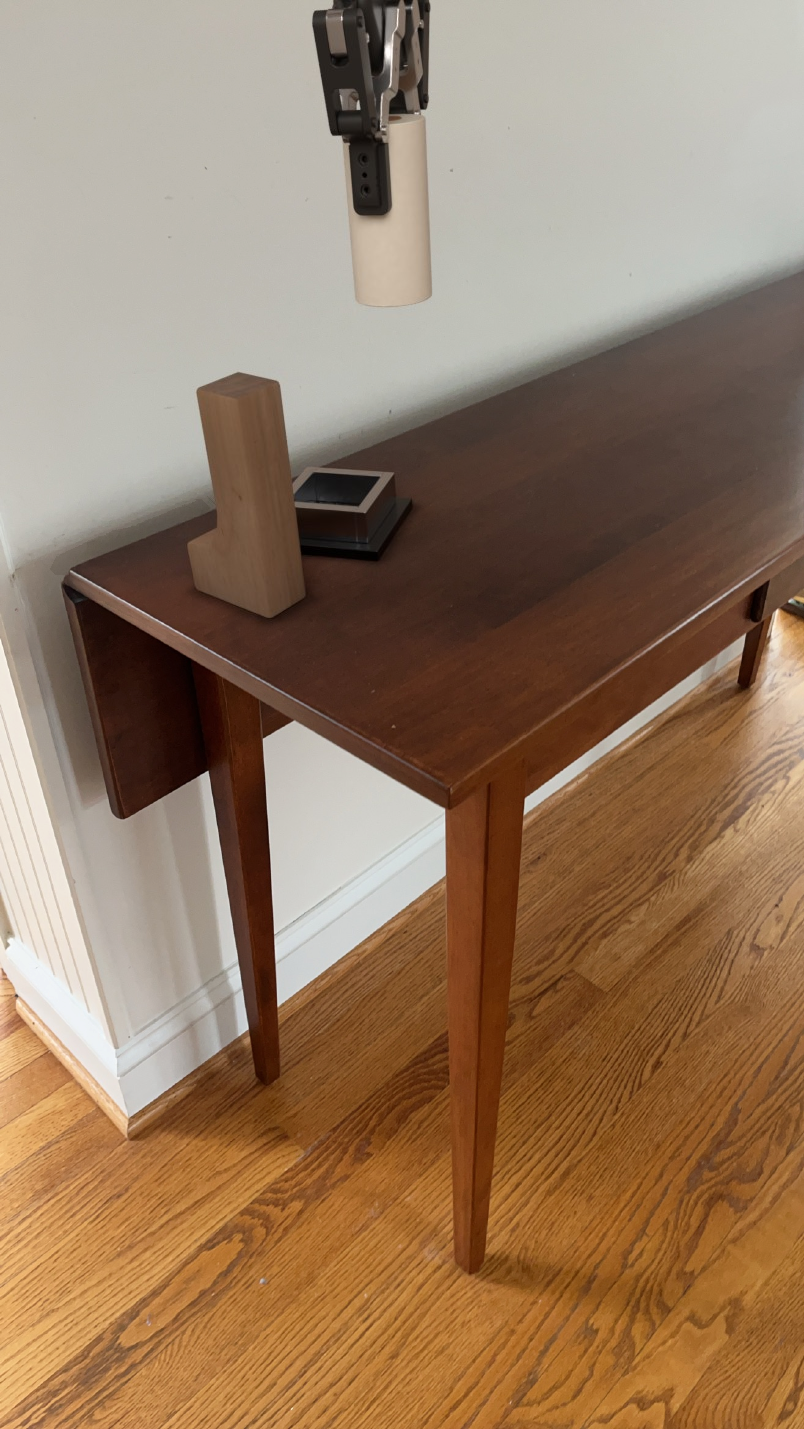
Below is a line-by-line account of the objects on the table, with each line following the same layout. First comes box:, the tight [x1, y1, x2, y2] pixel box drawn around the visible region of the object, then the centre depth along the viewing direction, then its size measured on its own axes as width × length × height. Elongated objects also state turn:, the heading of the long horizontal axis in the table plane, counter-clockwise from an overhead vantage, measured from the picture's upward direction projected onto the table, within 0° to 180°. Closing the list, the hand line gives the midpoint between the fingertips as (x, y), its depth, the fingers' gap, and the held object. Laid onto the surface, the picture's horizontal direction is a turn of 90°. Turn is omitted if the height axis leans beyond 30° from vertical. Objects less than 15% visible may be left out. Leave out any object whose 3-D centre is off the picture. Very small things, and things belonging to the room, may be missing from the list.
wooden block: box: [186, 371, 307, 619], centre depth 80 cm, size 9×4×18 cm, turn 52°
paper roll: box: [341, 114, 433, 308], centre depth 63 cm, size 5×5×10 cm
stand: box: [292, 466, 413, 562], centre depth 93 cm, size 11×11×4 cm
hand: (387, 203), depth 63 cm, fingers closed on paper roll, 5 cm apart
